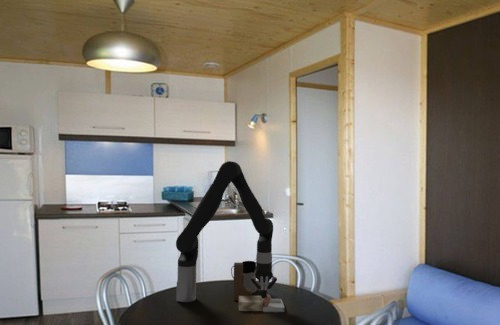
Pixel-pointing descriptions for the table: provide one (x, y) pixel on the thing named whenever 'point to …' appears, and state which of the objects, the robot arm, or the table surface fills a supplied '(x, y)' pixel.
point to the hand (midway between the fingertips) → (263, 297)
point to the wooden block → (239, 283)
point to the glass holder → (248, 274)
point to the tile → (266, 300)
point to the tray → (274, 306)
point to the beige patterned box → (250, 303)
